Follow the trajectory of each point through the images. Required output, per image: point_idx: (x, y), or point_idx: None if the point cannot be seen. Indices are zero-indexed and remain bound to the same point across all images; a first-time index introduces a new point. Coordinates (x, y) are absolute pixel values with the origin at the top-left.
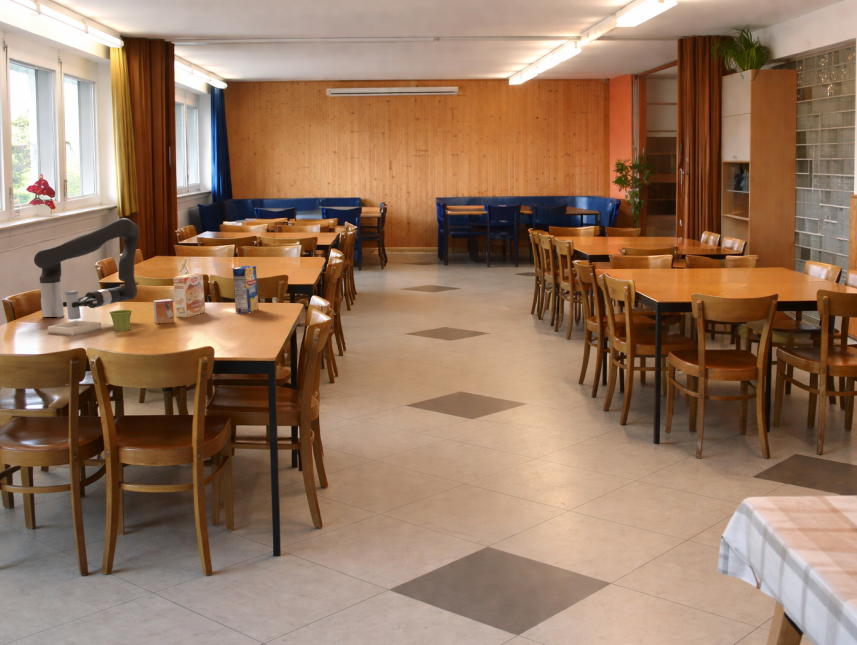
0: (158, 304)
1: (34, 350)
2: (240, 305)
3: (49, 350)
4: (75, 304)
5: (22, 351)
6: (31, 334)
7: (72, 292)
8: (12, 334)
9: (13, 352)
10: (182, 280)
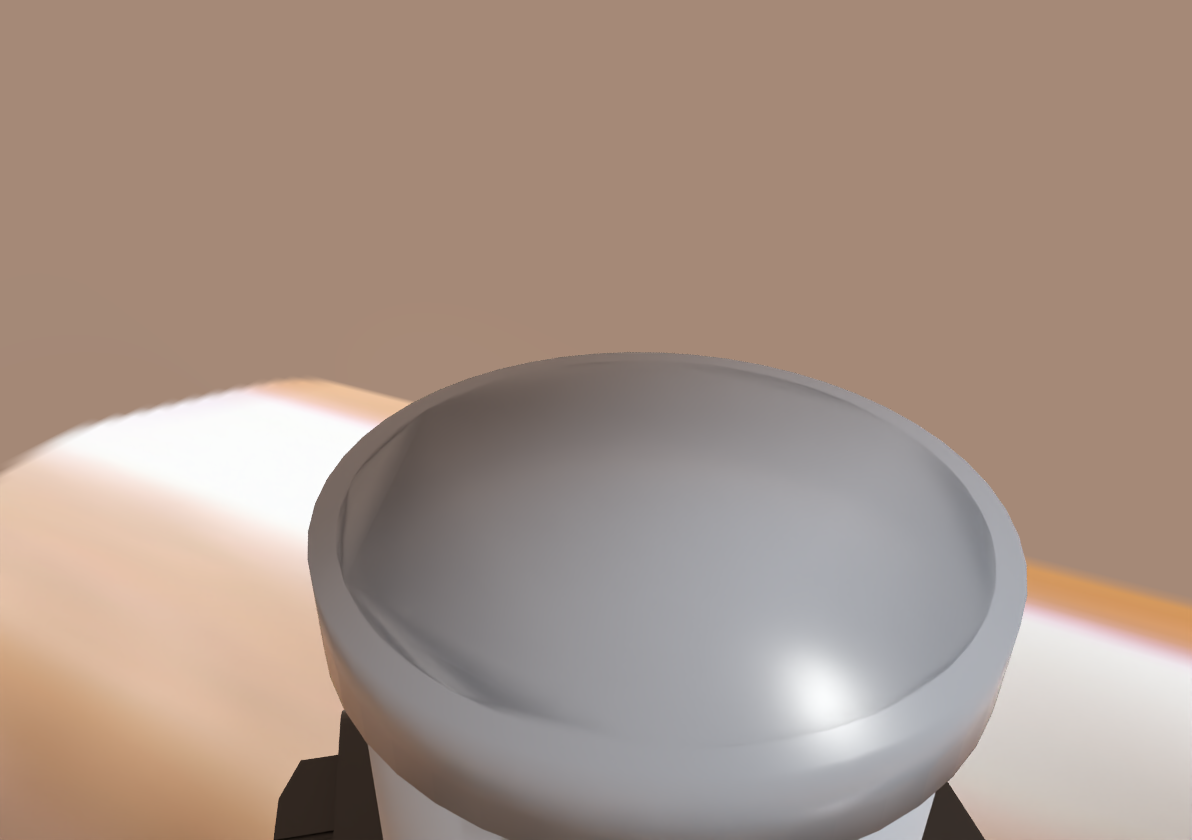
0: None
1: (175, 461)
2: None
3: (20, 502)
4: (290, 809)
5: (254, 423)
6: (1018, 736)
7: (368, 438)
8: (1175, 632)
9: (298, 396)
10: None
